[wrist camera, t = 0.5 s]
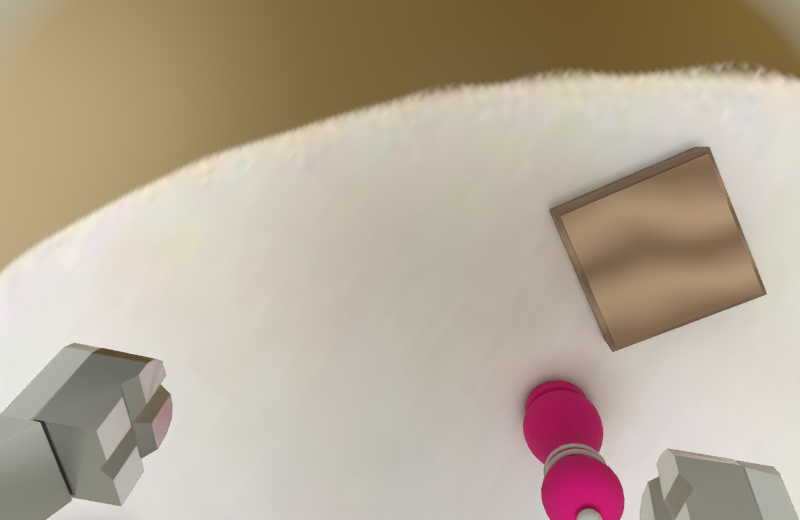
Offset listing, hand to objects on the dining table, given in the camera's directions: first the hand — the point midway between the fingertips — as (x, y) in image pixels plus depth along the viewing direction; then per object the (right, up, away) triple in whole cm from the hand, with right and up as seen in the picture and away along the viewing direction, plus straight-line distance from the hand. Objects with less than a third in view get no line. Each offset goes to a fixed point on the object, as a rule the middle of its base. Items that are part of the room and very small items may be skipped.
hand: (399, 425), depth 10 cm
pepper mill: (+16, -12, +52) cm, 55 cm away
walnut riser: (+23, +4, +47) cm, 53 cm away
